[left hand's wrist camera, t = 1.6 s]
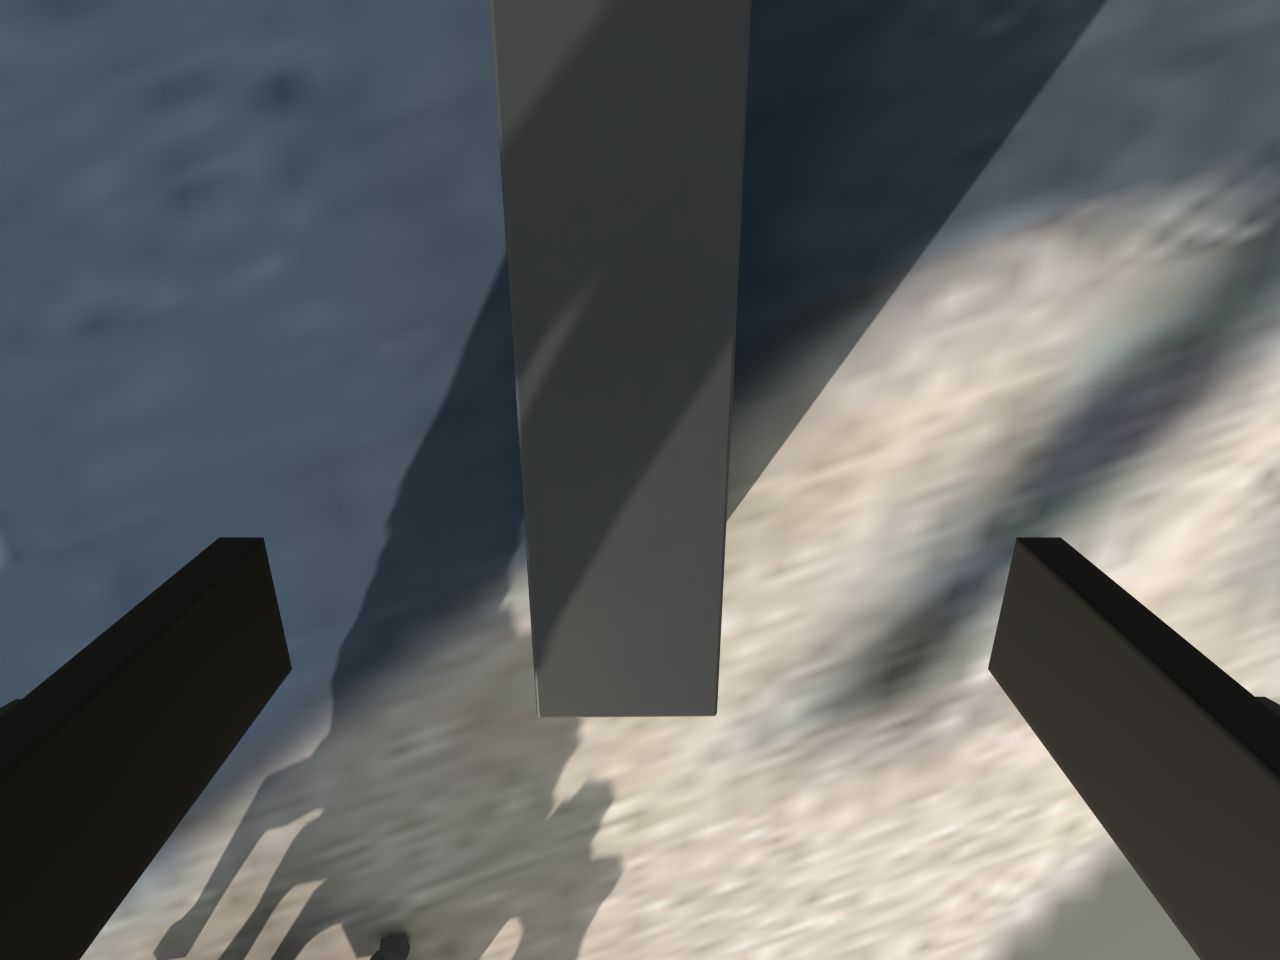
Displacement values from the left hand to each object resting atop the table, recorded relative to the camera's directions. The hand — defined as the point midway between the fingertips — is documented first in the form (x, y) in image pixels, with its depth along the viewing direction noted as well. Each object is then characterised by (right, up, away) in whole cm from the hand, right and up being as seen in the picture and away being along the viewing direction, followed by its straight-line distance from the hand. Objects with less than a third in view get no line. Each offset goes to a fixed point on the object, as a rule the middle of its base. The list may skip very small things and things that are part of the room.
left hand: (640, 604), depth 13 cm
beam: (0, +25, +4) cm, 25 cm away
